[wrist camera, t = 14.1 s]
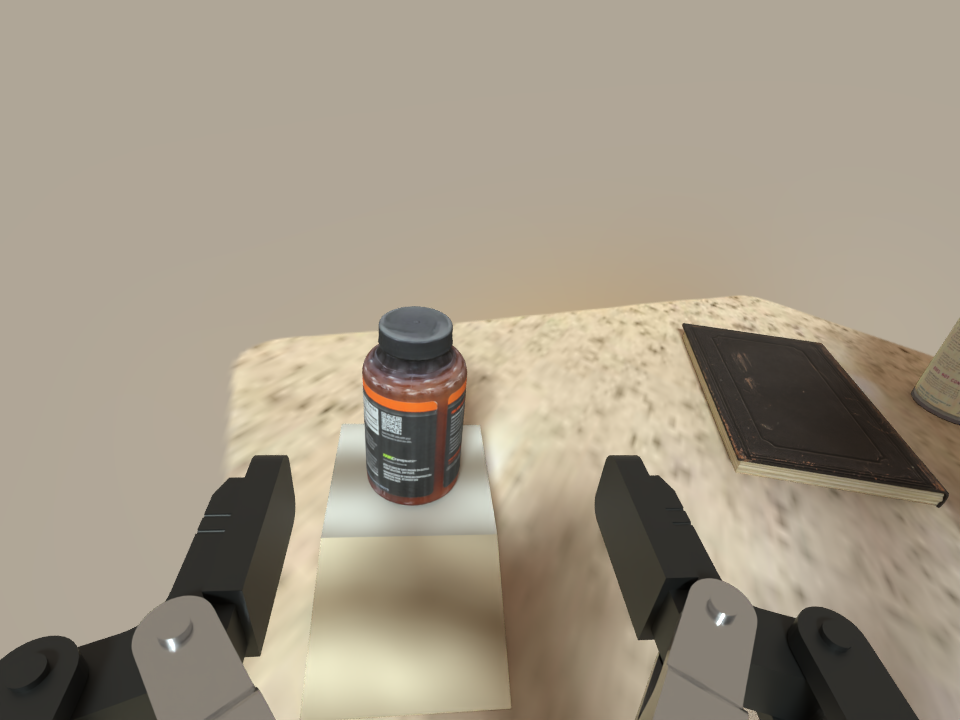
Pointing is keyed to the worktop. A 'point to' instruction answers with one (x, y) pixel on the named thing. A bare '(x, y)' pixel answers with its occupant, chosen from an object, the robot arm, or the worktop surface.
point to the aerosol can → (942, 380)
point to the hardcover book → (802, 417)
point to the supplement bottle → (414, 407)
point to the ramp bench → (406, 597)
